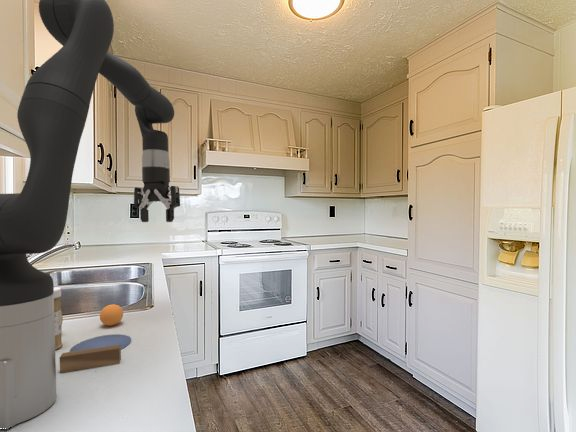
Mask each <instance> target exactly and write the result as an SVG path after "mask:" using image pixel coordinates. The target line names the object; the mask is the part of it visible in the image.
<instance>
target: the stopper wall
mask: <svg viewBox="0 0 576 432" xmlns="http://www.w3.org/2000/svg"><path fill="white" fill-rule="evenodd" d="M121 361H122V349H121V344H120V345H113V346H106V347H100V348H93V349H86V350H79V351H73V352H70V351H66V352H62V353H61V355H60V356H59V373H60V374H64V373H69V372H74V371H81V370H82V371H83V370H87V369H93V368H98V367H105V366H110V365H111V366H112V365H117V364H120V363H121Z"/></svg>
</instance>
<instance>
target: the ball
mask: <svg viewBox="0 0 576 432" xmlns="http://www.w3.org/2000/svg"><path fill="white" fill-rule="evenodd" d="M123 317H124V310H123V308H122V307H121V306H120V305H118V304H114V303H113V304H109V305H106V306H104V307H103V308H102V310H101V311H100V313H99V319H100V322H101V323H102V324H103V325H105V326H108V327H111V326H115V325H117V324H118V323H120V322H121V320H123Z"/></svg>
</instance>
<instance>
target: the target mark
mask: <svg viewBox="0 0 576 432" xmlns="http://www.w3.org/2000/svg"><path fill="white" fill-rule="evenodd" d="M131 343H132V337H131V336H129V335H126V334H118V333H117V334H105V335H100V336H95V337H92V338H91V337H90V338H88V339H85V340H83V341H81V342H78V343H75V345H73V346H72V347H71V348H70V349H69V352H73V351H79V350H86V349H93V348H100V347H106V346H113V345H120V344H121V350H123V349H125V348H126V347H128V346H129V345H130V344H131Z"/></svg>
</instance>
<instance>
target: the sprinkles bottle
mask: <svg viewBox="0 0 576 432" xmlns="http://www.w3.org/2000/svg"><path fill="white" fill-rule="evenodd" d="M53 293H54V326H55V351H57V350H59V349H60V348H62V346H63V343H62V332H63V331H62V324H63V323H62V324H61V313H62V307H61V298H62V297H61V296H62V289H61V287H57V286H54V292H53Z"/></svg>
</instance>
